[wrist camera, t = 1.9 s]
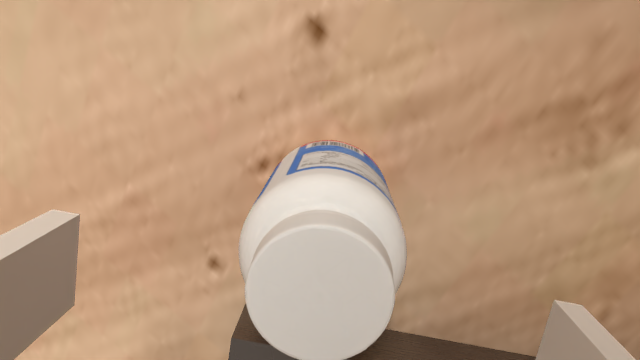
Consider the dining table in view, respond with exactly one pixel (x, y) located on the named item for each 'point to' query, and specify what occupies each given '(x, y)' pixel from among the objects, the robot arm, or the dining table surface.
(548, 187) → the dining table surface
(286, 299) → the pill bottle
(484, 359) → the grey bottle holder tray
